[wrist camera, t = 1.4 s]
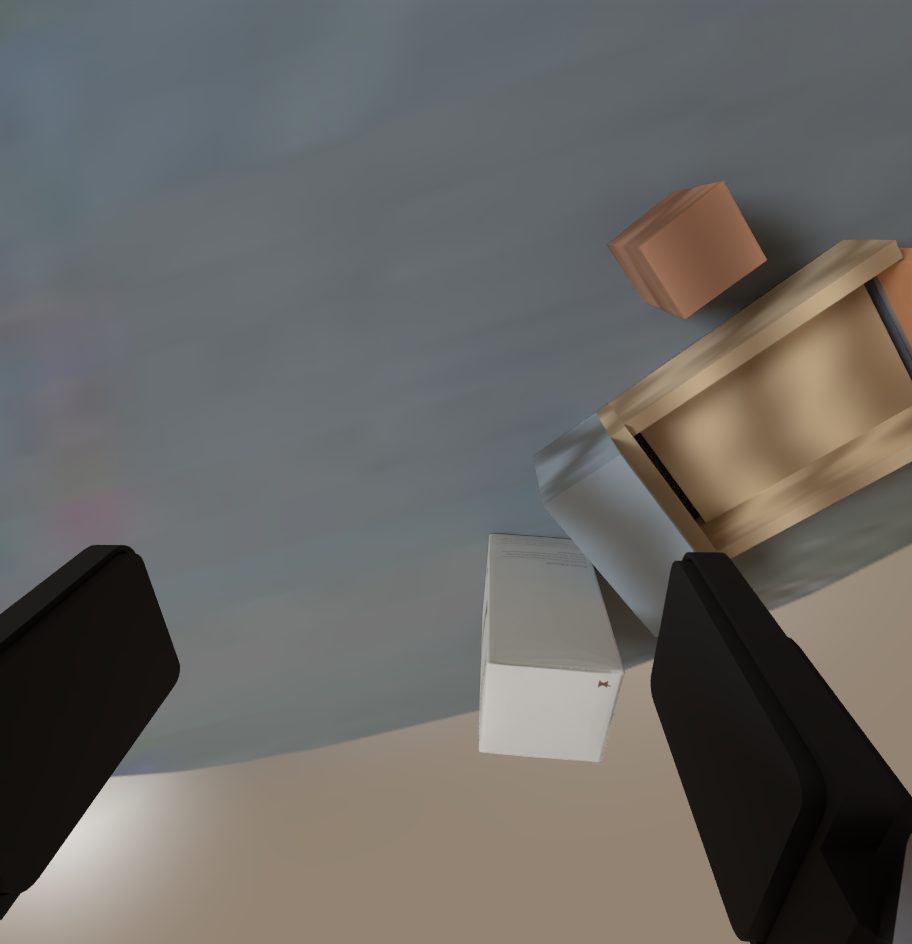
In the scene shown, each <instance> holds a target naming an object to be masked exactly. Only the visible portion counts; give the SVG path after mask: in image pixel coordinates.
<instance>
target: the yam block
mask: <svg viewBox="0 0 912 944" xmlns="http://www.w3.org/2000/svg"><path fill="white" fill-rule="evenodd" d="M607 246H608V248H609V249H610V251H611V252H612V254H613V255H614V257H615V258H616V260H617V261H618V263H619V264H620V266H621V267H622V269H623V270H624V272H625V273H626V275H627V276H628V278H629V279H630V281H631V283H632V284H633V286H634V287H635V289H636V290H637V292H638V293H639V295H640V296H641V298H642V299H643V301H644V302H646V303H648V304H651V305H653V306H655V307H658V308H660V309H662V310H664V311H667V312H669V313H671V314H674V315H676V316H678V317H681V318H683V319H686V318H687V317H689V316H690V315H692V314H693V313H694V312H696V311H697V310H698V309H700V308H701V307H703V306H704V305H705V304H707V303H708V302H710V301H711V300H712V299H714V298H715V297H717V296H718V295H719V294H721V293H722V292H723V291H725V290H726V289H728V288H729V287H730V286H732V285H733V284H735V283H736V282H737V281H739V280H740V279H742V278H743V277H744V276H746V275H747V274H748V273H750V272H751V271H753V270H754V269H755V268H757V267H758V266H760V265H761V264H762V263H764V262H765V261H767V259H766V257H765V255H764V254H763V252H762V250H761V248H760V246H759V245H758V243H757V241H756V239H755V237H754V236H753V234H752V232H751V230H750V228H749V227H748V225H747V223H746V221H745V219H744V217H743V216H742V214H741V212H740V210H739V208H738V207H737V205H736V203H735V201H734V199H733V198H732V196H731V194H730V192H729V190H728V189H727V187H726V185H725V183H724V181H720V182H716V183H711V184H707V185H703V186H699V187H695V188H690V189H686V190H682V191H678V192H674V193H670V194H669V195H667V196H666V197H665V198H664V199H662V200H661V201H660V202H659V203H658V204H656V205H655V206H654V207H653V208H651V209H650V210H649V211H648V212H646V213H645V214H644V215H643V216H642V217H640V218H639V219H638V220H637V221H635V222H634V223H633V224H632V225H631V226H629V227H628V228H627V229H626V230H624V231H623V232H622V233H621V234H620V235H618V236H617V237H616V238H615V239H613V240H612V241H611V242H610V243H609V244H607Z"/></svg>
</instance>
